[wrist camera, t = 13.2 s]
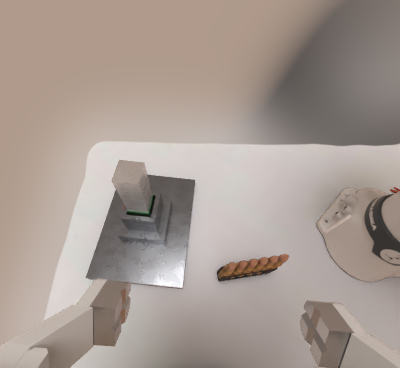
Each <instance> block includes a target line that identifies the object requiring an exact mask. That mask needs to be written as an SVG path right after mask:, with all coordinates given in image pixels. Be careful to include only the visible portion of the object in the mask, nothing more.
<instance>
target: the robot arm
mask: <svg viewBox="0 0 400 368" xmlns="http://www.w3.org/2000/svg"><path fill="white" fill-rule="evenodd" d="M394 189H396V190H397V191H396V190H392V189H391V190H390V191H392V192H393V193H395V194H390V195H389V194H387V193H384V192H382V191H380V190H377V189H373V188H364V189H362V190H357V189H353V188H346V189H344V190H343V191H342V192H341V193H340V195H339V196H338V197H337V198H336V199H335V201H334V202H333V203H332V204H331V206H330V207H329V208H328V209H327V210H326V212H325V213H324V214H323V215H322V217H321V218H320V219H319V220H318V221H317V227H318V229H319V230H320V232H321V233H322V235H323V236H324V239H325V242H326V246H327V249H328V251H329V253H330V255H331V256H332V258H333V259H334V261H335V262H336V263H337V264H338V265H339V266H340V267H341V268H342V269H343V270H344V271H345V272H347V273H348V274H349V275H351V276H353V277H355V278H357V279H360V280H363V281H368V282H376V281H380V280H382V279H384V278H386V277H389V276H390V277H400V189H398V188H395V187H394ZM325 221H326V222H325ZM130 290H131V283H130V282H124V281H116V280H107V279H99V278H98V279H96V280H95V281H94V282H93V283H92V285H91V286H90V287H89V289H88V290H87V291H86V293H85V294H84V295H83V297H82V298H81V299H80V301H79V302H78V303H77V305H72V306H70V307H68V308H66V309H65V310H63V311H61V312H59V313H57V314H56V315H54V316H52V317H50V318H48V319H47V320H45V321H43V322H41V323H40V324H38V325H36V326H34V327H32V328H30V329H29V330H27V331H25V332H23V333H21V334H19V335H18V336H16V337H14V338H12V339H10V340H9V341H7V342H5V343H4V344H3V345H2V346H1V347H0V368H70V367H71V366H72V365H73V364H74V363H75V362H77V361H78V360H79V359H80V358H81V357H82V356H83V355H84V354H85V353H86V352H88V351H89V350H90V349H91V348H92V347H93V345H103V346H115V344H116V342H117V340H118V337H119V335H120V332H121V324H123V323H124V322H125V320H126V318H127V315H128V311H129V307H130V297H129V296H128V295H129V292H130ZM304 309H305V311H306V312H305V313H304V314H303V315H302V316H301V321H300V326H301V331H302V335H303V337H304V339H305V340H306V341H307V342H308V343H309V344H310V345H311V348H310V351H311V353H312V355H313V357H314V359H315V361H316V363H317V365H318V367H326V368H400V354H399V353H397V352H396V351H394V350H393V349H391V348H390V347H388V346H387V345H385V344H384V343H382V342H381V341H379V340H378V339H376V338H375V337H373V336H372V335H367V333H366V332H365V331H364V330H363V329H362V327H361V326H360V325H359V324H358V322H357V321H356V320H355V319H354V318H353V316H352V315H351V314H350V313H349V312H348V310H347V309H346V308H345V307H344V305H342V304H341V303H332V302H329V303H328V302H318V301H308V300H307V301H306V302H305V305H304Z"/></svg>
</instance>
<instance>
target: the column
mask: <svg viewBox="0 0 400 368" xmlns="http://www.w3.org/2000/svg"><path fill="white" fill-rule="evenodd" d="M112 183H113V185H114V186H115V188H116V190H117V192H118V194H119V196H120V198H121V199H122V201H123V203H124V205H125V207H126V209H127V210H128V213H129V214H130V215H133V216H142V217H151V215H152V210H153V206H154V197H153V194H152V190H151V187H150V183H149V179H148V175H147V171H146V168H145V164H144V163H142V162H133V161H124V160H119V162H118V165H117V167H116V170H115V173H114V176H113V178H112Z"/></svg>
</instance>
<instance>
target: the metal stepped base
mask: <svg viewBox="0 0 400 368" xmlns="http://www.w3.org/2000/svg"><path fill="white" fill-rule="evenodd" d="M148 179H149V183H150V187H151V190H152V194H153V197H154V206H153V210H152V215H151V217H142V216H133V215H130V214H129V213H128V210H127V209H126V207H125V205H124V203H123V201H122V199H121V198H120V196H119V194H118V192H117V190H116V191H115V194H114V197H113V200H112V203H111V206H110V209H109V212H108V214H107V217H106V220H105V223H104V226H103V229H102V232H101V235H100V238H99V241H98V244H97V247H96V250H95V252H94V255H93V258H92V261H91V264H90V267H89V270H88V273H87V276H86V278H88V279H95V280H96V279H98V278H99V279H107V280H116V281H124V282H130V283H133V284H143V285H153V286H162V287H172V288H181V289H182V287H183V279H184V270H185V262H186V254H187V245H188V237H189V228H190V220H191V211H192V203H193V195H194V186H195V180H190V179H181V178H172V177H163V176H154V175H148Z"/></svg>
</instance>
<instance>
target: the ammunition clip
mask: <svg viewBox="0 0 400 368" xmlns="http://www.w3.org/2000/svg"><path fill="white" fill-rule="evenodd" d="M288 258H289V255H287V254H283V255H280V256H272V257H269V258H266V257H264V258H261V259H259V260H257V259H252V260H250V261H247V262H246V261H241V262H239V263H236V264H235V263H234V262H231V263H229V264H227V265H226V266H224V267H221V268H220V269H219V270H218V271H217V275H218V281H225V280H231V279H237V278H243V277H250V276H256V275H262V274H268V273H270V272H272V271H274V270H276V269H277V267H279V266H281V265H282V264H283V263H284V262H285V261H287V259H288Z"/></svg>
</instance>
